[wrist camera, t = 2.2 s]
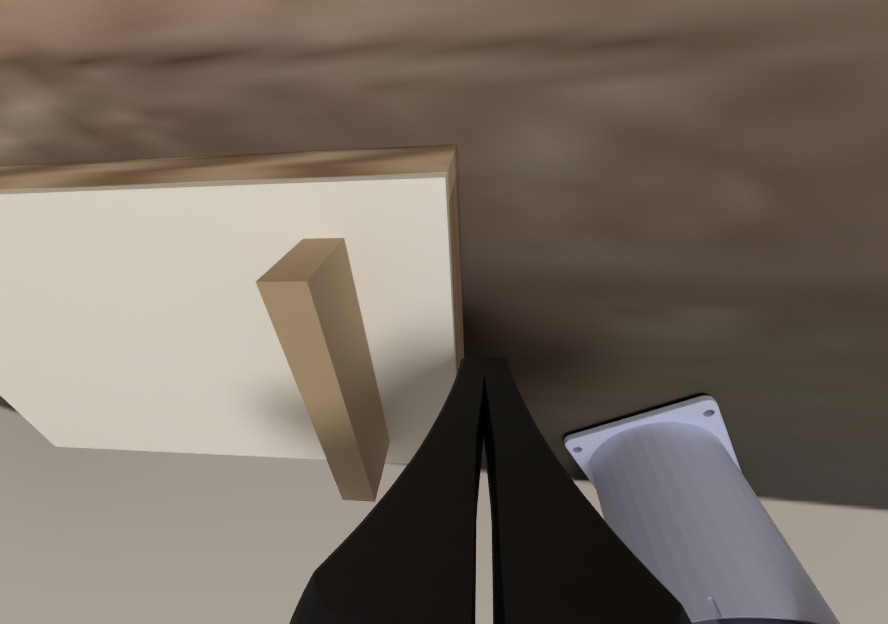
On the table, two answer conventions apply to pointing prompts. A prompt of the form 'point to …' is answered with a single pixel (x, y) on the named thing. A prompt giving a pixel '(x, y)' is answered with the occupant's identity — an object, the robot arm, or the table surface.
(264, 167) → the mailer box
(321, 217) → the mailer lid
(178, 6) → the table surface
